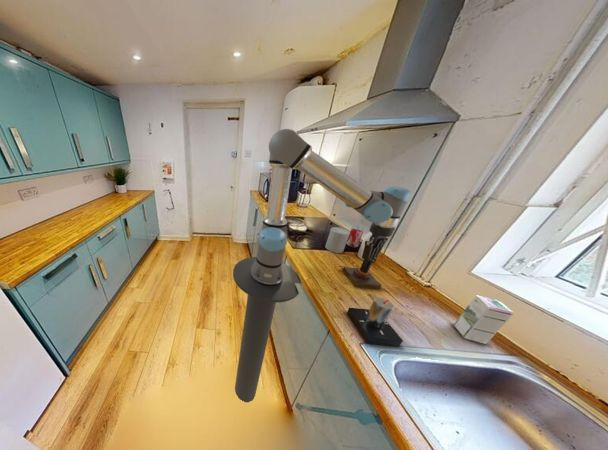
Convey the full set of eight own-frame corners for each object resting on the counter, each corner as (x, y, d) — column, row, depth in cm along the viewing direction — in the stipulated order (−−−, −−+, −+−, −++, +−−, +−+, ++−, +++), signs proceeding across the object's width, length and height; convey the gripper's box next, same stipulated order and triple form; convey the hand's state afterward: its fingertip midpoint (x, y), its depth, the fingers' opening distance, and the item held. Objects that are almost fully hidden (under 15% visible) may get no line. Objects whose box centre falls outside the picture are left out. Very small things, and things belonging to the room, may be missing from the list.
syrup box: (487, 344, 65) (517, 313, 59) (462, 338, 67) (489, 306, 61) (474, 330, 69) (500, 299, 63) (451, 324, 71) (475, 294, 65)
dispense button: (354, 271, 94) (356, 268, 93) (363, 272, 94) (365, 269, 93) (359, 277, 91) (361, 273, 90) (368, 278, 90) (370, 274, 89)
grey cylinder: (333, 243, 124) (339, 226, 119) (347, 251, 116) (354, 233, 111) (321, 245, 121) (327, 228, 116) (334, 254, 113) (341, 235, 108)
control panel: (346, 313, 75) (349, 307, 74) (374, 316, 74) (377, 309, 73) (366, 343, 64) (369, 336, 63) (399, 346, 63) (403, 340, 62)
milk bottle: (365, 262, 106) (379, 229, 98) (353, 254, 113) (365, 222, 105) (377, 261, 107) (392, 228, 99) (365, 253, 114) (378, 222, 106)
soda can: (358, 245, 123) (365, 228, 118) (356, 249, 119) (363, 231, 114) (346, 241, 127) (353, 225, 122) (344, 245, 123) (350, 227, 118)
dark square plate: (342, 270, 99) (344, 263, 98) (363, 272, 98) (366, 265, 97) (355, 287, 88) (358, 279, 87) (379, 289, 88) (383, 282, 86)
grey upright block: (377, 331, 65) (389, 310, 61) (361, 319, 69) (371, 299, 65) (386, 325, 67) (398, 305, 63) (370, 314, 71) (380, 295, 67)
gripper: (382, 219, 87) (363, 263, 97) (364, 223, 82) (346, 269, 92) (403, 226, 81) (381, 272, 91) (384, 231, 76) (363, 279, 86)
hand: (363, 270), depth 91 cm, fingers closed
